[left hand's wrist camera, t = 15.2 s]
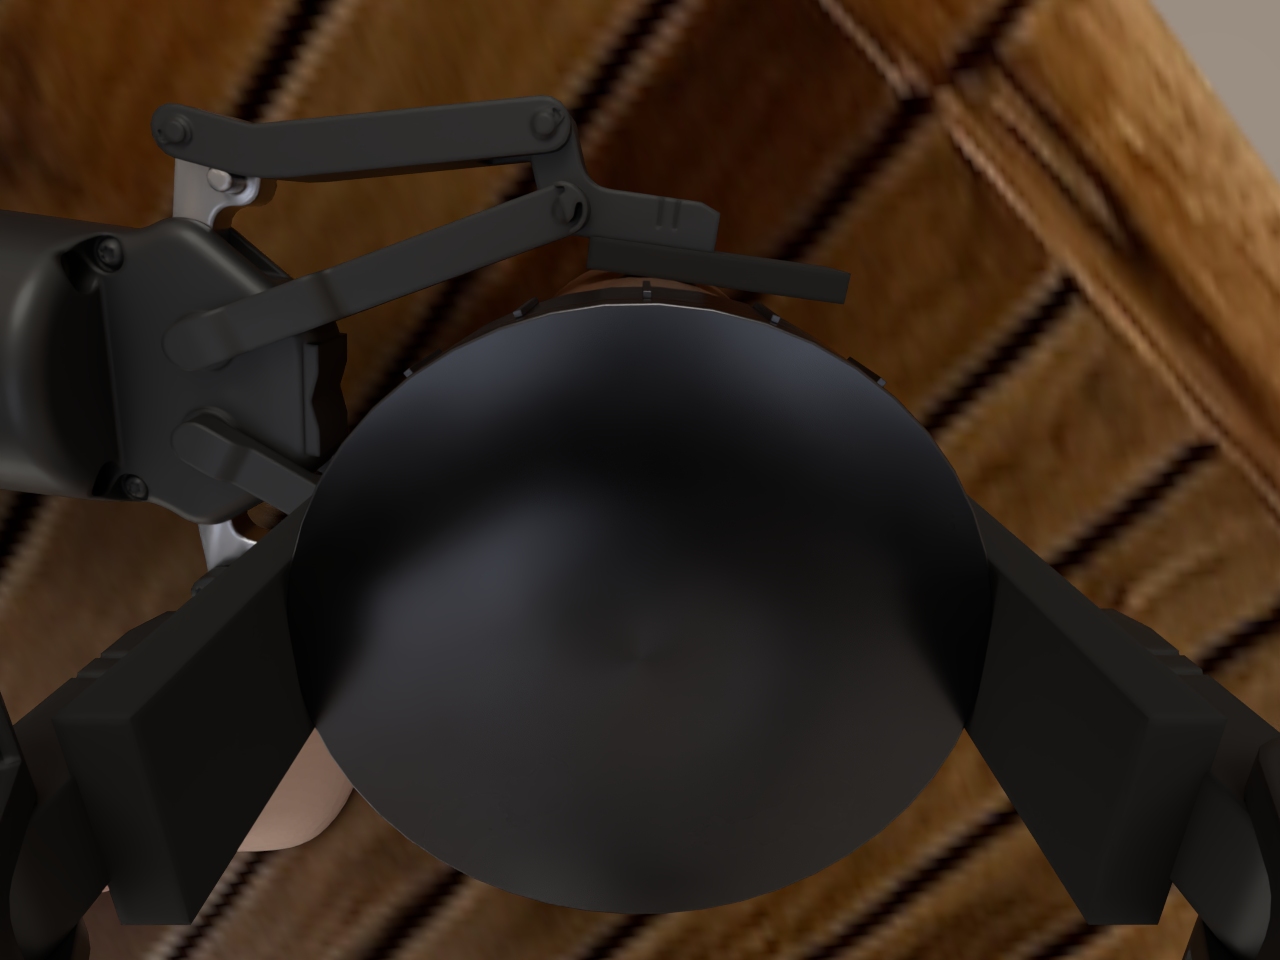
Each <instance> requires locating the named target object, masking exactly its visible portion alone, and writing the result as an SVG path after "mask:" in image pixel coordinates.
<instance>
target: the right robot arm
mask: <svg viewBox="0 0 1280 960" xmlns="http://www.w3.org/2000/svg"><path fill="white" fill-rule="evenodd" d="M151 130H152V135H153V137H154V139H155V141H156V143H157V145H158V146H159V147H160V148H161V149H162V150H163V151H164V152H165V153H166V154H168V155H170V156H172V157H174V158H175V178H174V202H173V217H171V218H166V219H163V220H160V221H158V222H156V223H154V224H152V225H150V226H148V227H145V228H141V229H140V228H132V227H124V226H117V225H110V224H102V223H95V222H88V221H81V220H73V219H66V218H59V217H52V216H44V215H37V214H30V213H23V212H15V211H8V210H0V489H4V490H12V491H21V492H29V493H37V494H45V495H54V496H62V497H70V498H79V499H87V500H98V501H143V502H150V503H154V504H157V505H159V506H162V507H164V508H166V509H168V510H170V511H172V512H174V513H175V514H177V515H179V516H180V517H182V518H184V519H186V520H188V521H190V522H193V523H197V524H198V527H199V532H200V536H201V541H202V545H203V550H204V554H205V559H206V563H207V568H208V572H207V573H206V574H205V575H204V576H202V577H201V578H200V579H199V580H198V581H196V582H195V583H194V585H193V587H192V589H191V592H192V597H194V596H195V595H196V594H197V593H198V592H199V591H201V590H202V589H203V588H204V587H205V586H206V585H208V584H209V583H210V582H211V581H212V580H213V579H215V578H216V577H217V576H218V575H219V574H220V573H222V572H223V571H224V570H225V569H226V568H227V567H229V566H230V565H231V564H232V563H233V562H234V561H236V560H237V559H238V558H239V557H240V556H241V555H243V554H244V553H245V552H246V551H247V550H248V549H250V548H251V547H252V546H253V545H254V544H255V543H257V542H258V541H259V540H260V539H261V538H262V537H264V536H265V535H266V534H267V533H268V532H269V531H271V530H268V529H264V528H261V527H259V526H257V525H256V524H255V523H254V522H252V521H251V519H250V518H249V516H248V514H247V511H248V510H249V509H251V508H253V507H255V506H257V505H258V504H260V503H262V502H264V501H265V502H266V503H268V504H270V505H272V506H273V507H275V508H277V509H279V510H281V511H282V512H284V513H286V514H288V515H289V514H290V513H291V512H293V511H294V510H295V509H296V508H297V507H298V506H300V505H301V504H302V503H303V502H304V501H305V500H307V499H308V498H309V497H310V496H311V495H312V494H313V492H314V489H315V487H316V485H317V482H318V480H319V479H320V477H321V476H322V475H319V474H314V472H315V471H319V472H321V473H322V474H323V472H324V471H325V469H326V468H327V466H328V464H329V463H330V462H329V461H330V459H331V457H332V456H333V455H334V454H335V453H336V452H337V450H338V448H339V447H340V445H341V444H342V442H343V441H344V440H345V439H346V437H347V409H346V406H345V402H344V398H343V395H342V391H341V387H340V383H341V379H342V376H343V372H344V369H345V365H346V362H347V334H346V333H339V330H338V327H337V324H336V322H335V321H337V320H340V319H343V318H346V317H348V316H351V315H354V314H357V313H359V312H362V311H365V310H368V309H370V308H373V307H376V306H378V305H381V304H384V303H386V302H389V301H392V300H395V299H397V298H400V297H403V296H406V295H408V294H411V293H414V292H417V291H419V290H422V289H425V288H428V287H430V286H433V285H436V284H439V283H441V282H444V281H447V280H450V279H452V278H455V277H458V276H461V275H463V274H466V273H469V272H472V271H474V270H477V269H480V268H483V267H485V266H488V265H491V264H494V263H496V262H499V261H502V260H505V259H507V258H510V257H513V256H515V255H518V254H521V253H524V252H526V251H529V250H532V249H535V248H537V247H540V246H543V245H546V244H548V243H551V242H554V241H557V240H559V239H562V238H565V237H568V236H570V235H574V236H581V237H588V238H590V240H589V250H588V259H587V269H593V270H600V271H608V272H615V273H622V274H629V275H636V276H644V277H651V278H658V279H665V280H672V281H680V282H687V283H694V284H701V285H709V286H716V287H723V288H730V289H737V290H745V291H752V292H759V293H766V294H773V295H781V296H788V297H795V298H802V299H809V300H817V301H824V302H831V303H838V304H844V301H845V297H846V293H847V288H848V284H849V279H850V275H851V274H850V273H847V272H843V271H839V270H836V269H832V268H829V267H825V266H818V265H811V264H804V263H797V262H790V261H783V260H775V259H768V258H761V257H754V256H747V255H740V254H733V253H726V252H719V251H714V249H715V243H716V237H717V230H718V224H719V218H720V213H718V212H717V211H715V210H714V209H712V208H710V207H709V206H707V205H705V204H704V203H702V202H697V201H690V200H683V199H676V198H669V197H661V196H655V195H648V194H641V193H634V192H627V191H620V190H613V189H608V188H604V187H601V186H599V185H598V184H596V183H595V182H594V181H593V180H592V179H591V177H590V176H589V174H588V172H587V169H586V166H585V162H584V158H583V154H582V149H581V145H580V140H579V136H578V134H579V132H578V129H577V125H576V123H575V121H574V119H573V118H572V117H571V115H570V114H569V112H568V111H567V109H566V108H565V107H564V106H563V104H562V103H561V102H560V101H558V100H557V99H555V98H553V97H552V96H544V95H538V96H528V97H519V98H509V99H499V100H489V101H479V102H469V103H459V104H449V105H439V106H429V107H419V108H409V109H399V110H389V111H379V112H369V113H359V114H349V115H339V116H329V117H319V118H309V119H299V120H289V121H279V122H269V123H259V124H256V123H252V122H248V121H245V120H241V119H238V118H234V117H230V116H226V115H222V114H218V113H214V112H210V111H206V110H201V109H197V108H193V107H189V106H185V105H181V104H174V103H167V104H164V105H162V106H160V107H158V109H157V110H156V111H155V112H154V114H153V116H152V121H151ZM526 162H531V165H532V169H533V173H534V177H535V181H536V185H537V189H538V191H535V192H532V193H529V194H527V195H524V196H521V197H519V198H516V199H513V200H511V201H508V202H505V203H503V204H500V205H497V206H495V207H492V208H489V209H487V210H484V211H481V212H479V213H476V214H473V215H471V216H468V217H465V218H463V219H460V220H457V221H454V222H452V223H449V224H446V225H444V226H441V227H438V228H436V229H433V230H430V231H428V232H425V233H422V234H420V235H417V236H414V237H412V238H409V239H406V240H404V241H401V242H398V243H396V244H393V245H390V246H388V247H385V248H382V249H380V250H377V251H374V252H371V253H369V254H366V255H363V256H361V257H358V258H355V259H353V260H350V261H347V262H345V263H342V264H339V265H337V266H334V267H331V268H328V269H326V270H322V271H319V272H316V273H312V274H309V275H306V276H303V277H300V278H297V279H295V280H294V279H293V278H291V277H290V276H289V275H288V274H287V273H286V272H284V271H283V270H282V269H281V268H280V267H279V266H277V265H276V264H275V263H274V262H273V261H272V260H270V259H269V258H268V257H267V256H266V255H264V254H263V253H262V252H261V251H260V250H259V249H257V248H256V247H255V246H254V245H253V244H252V243H250V242H249V241H248V240H247V239H246V238H245V237H243V236H242V235H241V234H240V233H239V232H237V231H236V230H235V229H234V228H232V227H231V223H232V218H233V217H234V215H235V213H236V212H237V211H239V210H240V209H241V208H244V207H247V206H262V205H265V204H267V203H268V202H270V201H271V200H272V198H273V196H274V194H275V191H276V188H277V183H276V182H277V180H285V181H296V182H308V183H311V182H331V181H341V180H352V179H362V178H372V177H382V176H393V175H403V174H413V173H423V172H434V171H444V170H454V169H464V168H475V167H485V166H495V165H505V164H516V163H526Z"/></svg>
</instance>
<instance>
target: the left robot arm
mask: <svg viewBox="0 0 1280 960" xmlns="http://www.w3.org/2000/svg"><path fill="white" fill-rule="evenodd" d="M966 495H967V494H966ZM311 496H312V495H311ZM311 496H310V497H309V498H308V499H307V500H305V501H304V502H303V503H302V504H301V505H300V506H298V507H297V508H296V509H295V510H294V511H293V512H291V513H290V514H289V515H288V516H287V517H286V518H285V519H283V520H282V521H281V522H280V523H279V524H278V525H276V526H275V527H274V528H273V529H272V530H271V531H269V532H268V533H267V534H266V535H265V536H264V537H262V538H261V539H260V540H259V541H258V542H257V543H255V544H254V545H253V546H252V547H251V548H250V549H248V550H247V551H246V552H245V553H244V554H243V555H241V556H240V557H239V558H238V559H237V560H236V561H234V562H233V563H232V564H231V565H230V566H229V567H227V568H226V569H225V570H224V571H223V572H222V573H220V574H219V575H218V576H217V577H216V578H215V579H213V580H212V581H211V582H210V583H209V584H208V585H206V586H205V587H204V588H203V589H202V590H201V591H199V592H198V593H197V594H196V595H195V596H194V597H192V598H191V599H190V600H189V601H188V602H187V603H185V604H184V605H183V606H182V607H181V608H180V609H178V610H177V611H167V612H165V613H163V614H161V615H159V616H157V617H155V618H153V619H151V620H149V621H147V622H145V623H143V624H142V625H140V626H138V627H136V628H134V629H132V630H130V631H128V632H127V633H126V634H125V635H123V636H122V637H121V638H120V639H118V640H117V641H116V642H115V643H114V644H112V645H111V646H110V647H109V648H107V649H106V650H105V651H104V652H103V653H101V658H95V659H94V660H93V661H92V662H90V663H89V664H88V665H87V666H85V667H84V668H83V669H82V670H81V671H79V672H78V673H77V674H78V675H77V678H71V679H69V680H68V681H67V682H66V683H65V684H63V685H62V686H61V687H60V688H58V689H57V690H56V691H55V692H54V693H52V694H51V695H50V696H49V697H47V698H46V699H45V700H44V701H43V702H41V703H40V704H39V705H38V706H36V707H35V708H34V709H33V710H32V711H30V712H29V713H28V714H27V715H25V716H24V717H23V718H22V719H21V720H19V721H18V722H17V723H16V724H14V725H12V723H11V720H10V717H9V714H8V712H7V709H6V706H5V703H4V701H3V698H2V695H1V692H0V960H89V954H90V943H89V936H88V931H87V928H86V926H85V923H84V920H83V915H84V914H85V913H86V911H87V910H88V909H89V908H90V906H91V905H92V904H93V903H94V901H95V900H96V899H97V898H98V896H99V895H100V894H101V893H102V891H103V890H104V889H105V887H106V886H107V885H108V888H109V891H110V894H111V897H112V899H113V902H114V905H115V908H116V911H117V914H118V917H119V920H120V923H121V925H191V923H192V922H193V920H194V919H195V917H196V915H197V914H198V912H199V911H200V909H201V907H202V906H203V904H204V903H205V901H206V900H207V898H208V896H209V895H210V893H211V892H212V890H213V888H214V887H215V885H216V884H217V882H218V881H219V879H220V877H221V876H222V874H223V873H224V871H225V869H226V868H227V866H228V865H229V863H230V862H231V860H232V858H233V857H234V855H235V854H236V852H237V850H238V849H239V847H240V846H241V844H242V842H243V841H244V839H245V838H246V836H247V835H248V833H249V831H250V830H251V828H252V827H253V825H254V823H255V822H256V820H257V819H258V817H259V816H260V814H261V812H262V811H263V809H264V808H265V806H266V804H267V803H268V801H269V800H270V798H271V797H272V795H273V793H274V792H275V790H276V789H277V787H278V785H279V784H280V782H281V781H282V779H283V778H284V776H285V774H286V773H287V771H288V770H289V768H290V766H291V765H292V763H293V762H294V760H295V759H296V757H297V755H298V754H299V752H300V751H301V749H302V747H303V746H304V744H305V743H306V741H307V740H308V738H309V736H310V735H311V733H312V732H313V730H314V728H315V726H314V724H313V723H312V721H311V718H310V716H309V713H308V710H307V708H306V705H305V702H304V700H303V697H302V694H301V690H300V686H299V681H298V676H297V671H296V665H295V660H294V655H293V650H292V645H291V639H290V633H289V627H288V618H287V595H288V585H289V574H290V563H291V558H292V555H293V551H294V547H295V543H296V539H297V535H298V531H299V527H300V523H301V520H302V518H303V515H304V513H305V510H306V508H307V506H308V503H309V501H310V499H311ZM967 497H968V499H969V501H970V503H971V505H972V507H973V509H974V512H975V515H976V518H977V522H978V525H979V528H980V532H981V535H982V538H983V542H984V545H985V548H986V553H987V560H988V567H989V575H990V582H991V589H992V619H991V630H990V636H989V642H988V647H987V652H986V658H985V663H984V668H983V674H982V678H981V683H980V687H979V692H978V695H977V698H976V701H975V704H974V707H973V710H972V712H971V714H970V716H969V718H968V720H967V722H966V724H965V726H964V728H965V730H966V731H967V733H968V734H969V736H970V738H971V739H972V741H973V742H974V744H975V745H976V747H977V749H978V750H979V752H980V753H981V755H982V757H983V758H984V760H985V761H986V763H987V765H988V766H989V768H990V769H991V771H992V772H993V774H994V776H995V777H996V779H997V780H998V782H999V784H1000V785H1001V787H1002V788H1003V790H1004V791H1005V793H1006V795H1007V796H1008V798H1009V799H1010V801H1011V803H1012V804H1013V806H1014V807H1015V809H1016V810H1017V812H1018V814H1019V815H1020V817H1021V818H1022V820H1023V822H1024V823H1025V825H1026V826H1027V828H1028V829H1029V831H1030V833H1031V834H1032V836H1033V837H1034V839H1035V841H1036V842H1037V844H1038V845H1039V847H1040V849H1041V850H1042V852H1043V853H1044V855H1045V856H1046V858H1047V860H1048V861H1049V863H1050V864H1051V866H1052V868H1053V869H1054V871H1055V872H1056V874H1057V875H1058V877H1059V879H1060V880H1061V882H1062V883H1063V885H1064V887H1065V888H1066V890H1067V891H1068V893H1069V894H1070V896H1071V898H1072V899H1073V901H1074V902H1075V904H1076V906H1077V907H1078V909H1079V910H1080V912H1081V913H1082V915H1083V917H1084V918H1085V920H1086V921H1087V923H1088V925H1158V923H1159V920H1160V917H1161V914H1162V911H1163V908H1164V905H1165V902H1166V899H1167V896H1168V893H1169V890H1170V887H1171V885H1172V882H1173V883H1174V884H1175V886H1176V887H1177V888H1178V889H1179V891H1180V892H1181V893H1182V895H1183V896H1184V897H1185V898H1186V900H1187V901H1188V902H1189V903H1190V905H1191V906H1192V907H1193V908H1194V910H1195V911H1196V912H1197V913H1198V917H1197V920H1196V923H1195V926H1194V928H1193V931H1192V934H1191V937H1190V939H1189V942H1188V945H1187V948H1186V950H1185V953H1184V956H1183V959H1182V960H1280V733H1279V732H1278V731H1277V730H1276V729H1275V728H1273V727H1272V726H1271V725H1270V724H1268V723H1267V722H1266V721H1265V720H1263V719H1262V718H1261V717H1260V716H1258V715H1257V714H1256V713H1255V712H1254V711H1252V710H1251V709H1250V708H1249V707H1247V706H1246V705H1245V704H1244V703H1242V702H1241V701H1240V700H1239V699H1238V698H1236V697H1235V696H1234V695H1233V694H1231V693H1230V692H1229V691H1228V690H1226V689H1225V688H1224V687H1223V686H1221V685H1220V684H1219V683H1218V682H1217V681H1215V680H1214V679H1213V678H1212V677H1210V676H1209V675H1203V673H1202V669H1201V668H1199V667H1198V666H1197V665H1196V664H1194V663H1193V662H1192V661H1191V660H1189V659H1188V658H1187V657H1186V656H1184V655H1179V651H1178V650H1177V649H1176V648H1175V647H1173V646H1172V645H1171V644H1170V643H1168V642H1167V641H1166V640H1165V639H1164V638H1162V637H1161V636H1160V635H1159V634H1157V633H1156V632H1155V631H1154V630H1152V629H1151V628H1150V627H1148V626H1146V625H1144V624H1142V623H1140V622H1138V621H1136V620H1134V619H1132V618H1130V617H1128V616H1126V615H1124V614H1122V613H1120V612H1118V611H1116V610H1114V609H1100V608H1098V607H1097V606H1096V605H1095V604H1094V603H1093V602H1091V601H1090V600H1089V599H1088V598H1087V597H1086V596H1084V595H1083V594H1082V593H1081V592H1080V591H1079V590H1077V589H1076V588H1075V587H1074V586H1073V585H1072V584H1070V583H1069V582H1068V581H1067V580H1066V579H1065V578H1063V577H1062V576H1061V575H1060V574H1059V573H1058V572H1056V571H1055V570H1054V569H1053V568H1052V567H1051V566H1049V565H1048V564H1047V563H1046V562H1045V561H1044V560H1042V559H1041V558H1040V557H1039V556H1038V555H1037V554H1035V553H1034V552H1033V551H1032V550H1031V549H1030V548H1028V547H1027V546H1026V545H1025V544H1024V543H1023V542H1021V541H1020V540H1019V539H1018V538H1017V537H1016V536H1015V535H1013V534H1012V533H1011V532H1010V531H1009V530H1008V529H1006V528H1005V527H1004V526H1003V525H1002V524H1001V523H999V522H998V521H997V520H996V519H995V518H994V517H992V516H991V515H990V514H989V513H988V512H987V511H985V510H984V509H983V508H982V507H981V506H980V505H978V504H977V503H976V502H975V501H974V500H973V499H971V498H970V497H969V496H968V495H967Z"/></svg>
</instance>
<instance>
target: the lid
mask: <svg viewBox="0 0 1280 960" xmlns="http://www.w3.org/2000/svg"><path fill="white" fill-rule="evenodd" d="M403 374H404V375H405V376H406V377H407V378H406V379H405V380H403V381H402V382H401V383H400V384H399V385H398V386H396V387H395V388H394V389H393V390H392V391H391V392H389V393H388V394H387V395H386V396H385V397H384V398H383V399H381V400H380V401H379V402H378V403H377V404H376V405H374V406H373V407H372V408H371V410H370V411H369V412H368V413H367V414H366V415H365V417H364V418H363V419H362V420H361V421H360V422H359V424H358V425H357V426H356V427H355V428H354V429H353V430H352V432H351V433H350V434H349V435H348V436H347V437H346V439H345V440H344V441H343V442H342V444H341V445H340V447H339V448H338V450H337V452H336V453H335V454H334V455H333V456H332V457H331V459H330V461H329V462H330V463H329V464H328V466H327V468H326V469H325V471H324V472H323V474H322V476H321V477H320V479H319V480H318V482H317V485H316V487H315V489H314V492H313V494H312V496H311V499H310V501H309V503H308V506H307V508H306V510H305V513H304V515H303V518H302V520H301V523H300V527H299V531H298V535H297V539H296V543H295V547H294V551H293V555H292V558H291V563H290V574H289V585H288V595H287V618H288V627H289V633H290V639H291V645H292V650H293V655H294V660H295V665H296V671H297V676H298V681H299V686H300V690H301V694H302V697H303V700H304V702H305V705H306V708H307V710H308V713H309V716H310V718H311V721H312V723H313V724H314V726H315V728H316V730H317V732H318V734H319V736H320V738H321V739H322V741H323V743H324V745H325V747H326V749H327V751H328V752H329V754H330V756H331V757H332V758H333V760H334V761H335V763H336V764H337V765H338V767H339V768H340V770H341V771H342V772H343V774H344V775H345V776H346V778H347V779H348V781H349V782H350V783H351V785H352V786H353V787H354V788H355V789H356V790H357V791H358V793H359V794H360V795H361V796H362V797H363V798H364V799H365V800H366V801H367V802H368V803H369V804H370V805H371V806H372V808H373V809H374V810H375V811H376V812H377V813H378V814H379V815H380V816H381V817H383V818H384V819H385V820H386V821H387V822H389V823H390V824H391V825H392V826H393V827H394V828H396V829H397V830H398V831H399V832H400V833H401V834H403V835H404V836H405V837H406V838H407V839H409V840H410V841H412V842H413V843H415V844H416V845H418V846H419V847H421V848H422V849H424V850H425V851H427V852H428V853H430V854H431V855H433V856H434V857H436V858H437V859H439V860H440V861H442V862H444V863H446V864H448V865H450V866H451V867H453V868H455V869H457V870H459V871H461V872H463V873H465V874H467V875H469V876H471V877H472V878H474V879H477V880H479V881H482V882H484V883H487V884H489V885H492V886H494V887H497V888H499V889H502V890H504V891H507V892H509V893H512V894H516V895H519V896H523V897H526V898H530V899H533V900H537V901H540V902H544V903H547V904H553V905H558V906H563V907H569V908H574V909H580V910H585V911H596V912H608V913H620V914H662V913H673V912H682V911H692V910H701V909H707V908H712V907H716V906H721V905H726V904H731V903H736V902H740V901H744V900H747V899H750V898H753V897H757V896H760V895H763V894H766V893H769V892H772V891H776V890H779V889H781V888H783V887H786V886H788V885H790V884H793V883H795V882H797V881H800V880H802V879H804V878H807V877H809V876H811V875H814V874H816V873H817V872H819V871H821V870H823V869H825V868H826V867H828V866H830V865H832V864H833V863H835V862H837V861H839V860H841V859H842V858H844V857H846V856H848V855H849V854H851V853H852V852H853V851H855V850H856V849H858V848H859V847H860V846H862V845H863V844H865V843H866V842H867V841H869V840H870V839H872V838H873V837H874V836H876V835H877V834H879V833H880V832H881V831H882V830H883V829H884V828H885V827H887V826H888V825H889V824H890V823H891V822H892V821H893V820H894V819H895V818H896V817H898V816H899V815H900V814H901V813H902V812H903V811H904V810H905V809H906V808H908V807H909V805H910V804H911V803H912V802H913V801H914V800H915V799H916V797H917V796H918V795H919V794H920V793H921V792H922V790H923V789H924V788H925V787H926V786H927V785H928V784H929V782H930V781H931V780H932V779H933V778H934V776H935V775H936V773H937V772H938V770H939V769H940V767H941V766H942V764H943V763H944V761H945V760H946V758H947V757H948V755H949V754H950V752H951V751H952V749H953V748H954V746H955V745H956V743H957V741H958V739H959V737H960V735H961V733H962V731H963V728H964V726H965V724H966V722H967V720H968V718H969V716H970V714H971V712H972V710H973V707H974V704H975V701H976V698H977V695H978V692H979V687H980V683H981V678H982V674H983V668H984V663H985V658H986V652H987V647H988V642H989V636H990V630H991V619H992V589H991V582H990V575H989V567H988V560H987V553H986V548H985V545H984V542H983V538H982V535H981V532H980V528H979V525H978V522H977V518H976V515H975V512H974V509H973V507H972V505H971V503H970V501H969V499H968V497H967V495H966V492H965V490H964V488H963V486H962V484H961V482H960V480H959V478H958V476H957V474H956V472H955V470H954V468H953V467H952V465H951V464H950V462H949V461H948V460H947V458H946V457H945V455H944V454H943V452H942V451H941V449H940V448H939V446H938V445H937V444H936V442H935V441H934V439H933V438H932V436H931V435H930V433H929V432H928V431H927V430H926V429H925V428H924V427H923V426H922V425H921V424H920V422H919V421H918V420H917V419H916V418H915V417H914V416H913V415H912V414H911V413H910V412H909V411H908V410H907V409H906V407H905V406H904V405H903V404H902V403H901V402H900V401H899V400H898V399H897V398H896V397H895V396H894V395H892V394H891V393H890V392H888V391H887V390H886V389H885V388H883V386H884V385H885V384H886V381H885V380H883V379H882V378H881V377H880V376H878V375H877V374H875V373H874V372H872V371H871V370H869V369H868V368H866V367H865V366H863V365H862V364H860V363H859V362H857V361H856V360H854V359H853V358H851V357H849V358H848V359H845V358H844V357H843V356H841V355H840V354H838V353H837V352H835V351H834V350H833V349H831V348H830V347H828V346H827V345H825V344H824V343H822V342H821V341H820V340H818V339H816V338H814V337H813V336H811V335H809V334H808V333H806V332H804V331H802V330H801V329H799V328H797V327H796V326H794V325H792V324H790V323H789V322H787V321H785V320H784V319H781V318H780V317H779V316H778V315H777V314H775V313H774V312H772V311H771V310H770V309H768V308H767V307H766V306H764V305H763V304H761V303H759V302H755V303H754V306H753V307H752V306H750V305H747V304H745V303H742V302H738V301H735V300H731V299H727V298H723V297H719V296H715V295H711V294H707V293H704V292H699V291H691V290H682V289H674V288H665V287H656V286H651V284H650V281H643V287H609V288H603V289H596V290H590V291H584V292H577V293H571V294H566V295H562V296H559V297H556V298H552V299H549V300H545V301H542V302H539V303H538V299H537V297H534V298H531V299H529V300H528V301H527V302H525V303H524V304H523V305H521V306H520V307H519V308H517V309H516V310H515V311H513V312H512V313H510V314H508V315H505V316H503V317H501V318H499V319H497V320H495V321H492V322H490V323H488V324H486V325H484V326H483V327H481V328H479V329H478V330H476V331H475V332H473V333H472V334H470V335H468V336H467V337H465V338H464V339H462V340H461V341H459V342H458V343H456V344H454V345H453V346H451V347H450V348H448V349H447V350H445V351H444V352H442V351H441V350H440V349H437V350H436V351H434V352H433V353H431V354H430V355H428V356H427V357H425V358H424V359H422V360H421V361H419V362H418V363H416V364H415V365H413V366H412V367H410V368H408V369H407V370H406V371H405V372H404V373H403Z"/></svg>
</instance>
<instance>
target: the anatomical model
mask: <svg viewBox="0 0 1280 960" xmlns="http://www.w3.org/2000/svg"><path fill="white" fill-rule="evenodd" d="M352 789H353V786H352V785H351V783H350V782H349V781H348V779H347V778H346V776H345V775H344V774H343V772H342V771H341V770H340V768H339V767H338V765H337V764H336V763H335V761H334V760H333V758H332V757H331V756H330V754H329V752H328V751H327V749H326V747H325V745H324V743H323V741H322V739H321V738H320V736H319V734H318V732H317V730H316V728H314V730H313V732H312V733H311V735H310V736H309V738H308V740H307V741H306V743H305V744H304V746H303V747H302V749H301V751H300V752H299V754H298V755H297V757H296V759H295V760H294V762H293V763H292V765H291V766H290V768H289V770H288V771H287V773H286V774H285V776H284V778H283V779H282V781H281V782H280V784H279V785H278V787H277V789H276V790H275V792H274V793H273V795H272V797H271V798H270V800H269V801H268V803H267V804H266V806H265V808H264V809H263V811H262V812H261V814H260V816H259V817H258V819H257V820H256V822H255V823H254V825H253V827H252V828H251V830H250V831H249V833H248V835H247V836H246V838H245V839H244V841H243V842H242V844H241V846H240V847H239V849H238V850H237V851H266V850H278V849H284V848H290V847H294V846H297V845H300V844H303V843H305V842H307V841H309V840H311V839H313V838H314V837H316V836H317V835H319V834H320V833H321V832H322V831H323V830H325V829H326V828H327V827H328V826H329V825H330V823H331V822H332V821H333V820H334V819H335V818H336V817H337V815H338V814H339V812H340V811H341V809H342V808H343V806H344V805H345V803H346V801H347V799H348V797H349V795H350V793H351V791H352ZM105 891H109V888H108V885H107V886H106V887H105V889H104V890H103V891H102V892H105Z"/></svg>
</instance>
